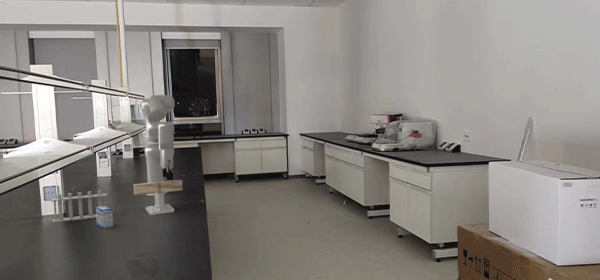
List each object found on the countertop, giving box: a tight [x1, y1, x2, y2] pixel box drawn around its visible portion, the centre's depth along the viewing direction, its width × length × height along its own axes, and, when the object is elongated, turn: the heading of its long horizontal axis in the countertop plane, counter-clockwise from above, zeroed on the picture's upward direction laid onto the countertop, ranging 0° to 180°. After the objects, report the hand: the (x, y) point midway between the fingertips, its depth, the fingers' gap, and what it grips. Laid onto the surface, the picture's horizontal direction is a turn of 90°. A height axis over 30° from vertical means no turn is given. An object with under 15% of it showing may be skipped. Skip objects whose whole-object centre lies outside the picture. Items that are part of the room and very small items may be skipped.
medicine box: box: [95, 205, 114, 229], centre depth 203 cm, size 8×4×9 cm, turn 47°
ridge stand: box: [145, 192, 175, 216], centre depth 230 cm, size 14×12×10 cm
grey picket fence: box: [50, 190, 108, 224], centre depth 218 cm, size 25×4×13 cm, turn 114°
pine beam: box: [133, 179, 184, 196], centre depth 230 cm, size 4×24×5 cm, turn 119°
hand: (167, 178), depth 232 cm, fingers open, 9 cm apart
